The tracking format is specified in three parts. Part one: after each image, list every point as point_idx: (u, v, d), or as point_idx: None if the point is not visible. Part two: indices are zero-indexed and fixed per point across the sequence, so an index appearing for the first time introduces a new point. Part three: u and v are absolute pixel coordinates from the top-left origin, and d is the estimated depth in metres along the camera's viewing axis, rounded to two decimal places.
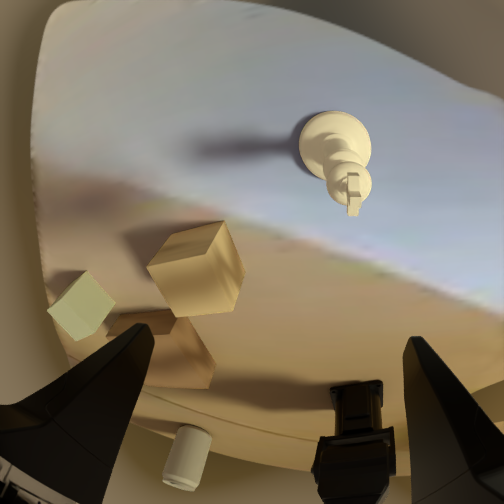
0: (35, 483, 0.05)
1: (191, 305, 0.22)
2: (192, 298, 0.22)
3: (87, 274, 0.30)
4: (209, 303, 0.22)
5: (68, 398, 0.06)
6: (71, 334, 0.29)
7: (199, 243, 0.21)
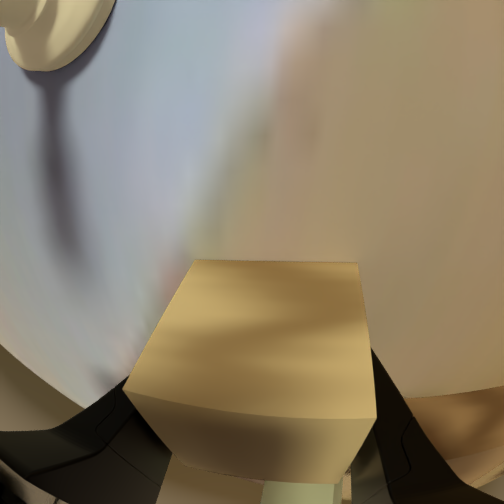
0: None
1: (311, 466, 0.06)
2: (287, 461, 0.06)
3: None
4: (315, 447, 0.05)
5: (122, 418, 0.06)
6: None
7: None
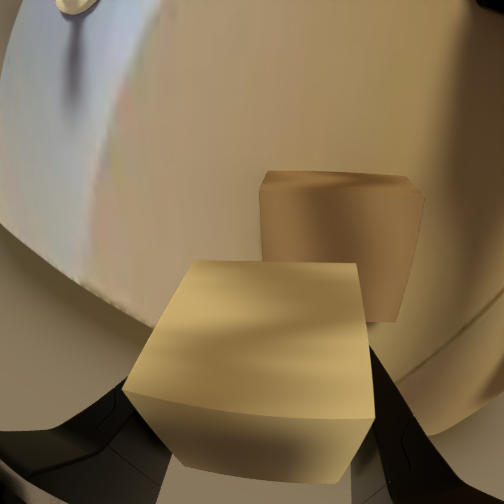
0: None
1: (310, 466, 0.06)
2: (285, 460, 0.06)
3: None
4: (314, 447, 0.05)
5: (122, 418, 0.06)
6: None
7: None
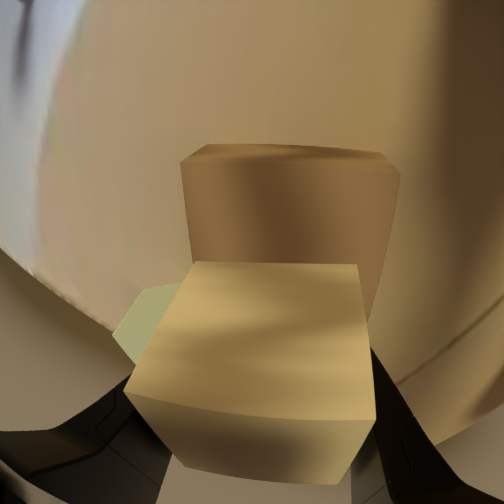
0: None
1: (310, 467, 0.06)
2: (286, 461, 0.06)
3: (144, 291, 0.21)
4: (315, 448, 0.05)
5: (122, 418, 0.06)
6: None
7: None
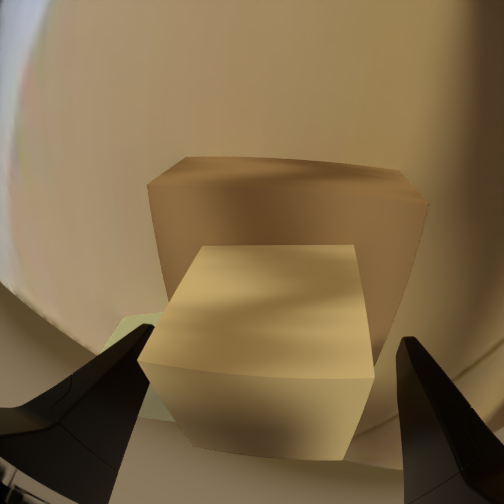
0: (40, 487, 0.04)
1: (315, 438, 0.07)
2: (292, 432, 0.07)
3: (125, 319, 0.19)
4: (319, 413, 0.06)
5: (74, 401, 0.06)
6: None
7: None
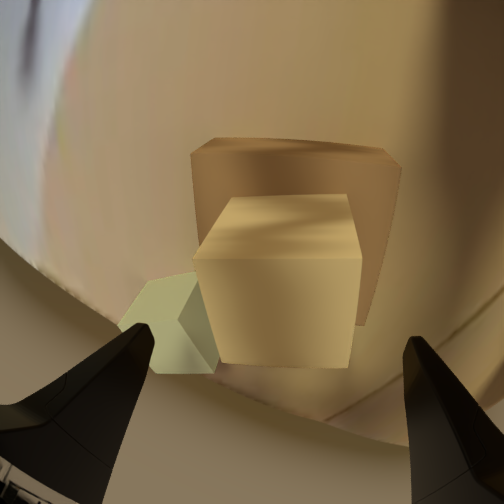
0: (35, 483, 0.05)
1: (324, 333, 0.10)
2: (306, 325, 0.10)
3: (149, 282, 0.22)
4: (326, 299, 0.09)
5: (68, 398, 0.06)
6: (197, 369, 0.19)
7: None
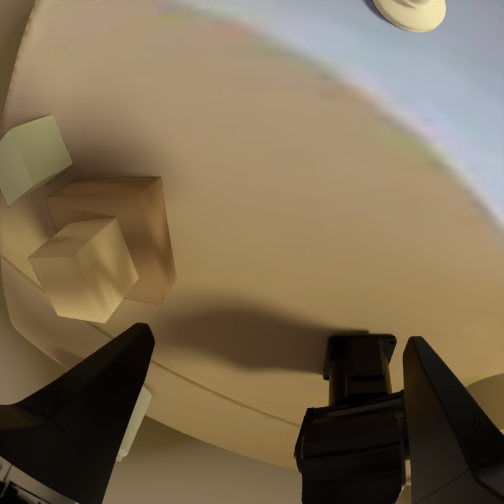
0: (35, 483, 0.05)
1: (68, 307, 0.17)
2: (68, 300, 0.17)
3: (51, 118, 0.19)
4: (83, 309, 0.17)
5: (68, 398, 0.06)
6: (5, 194, 0.18)
7: (77, 241, 0.17)
